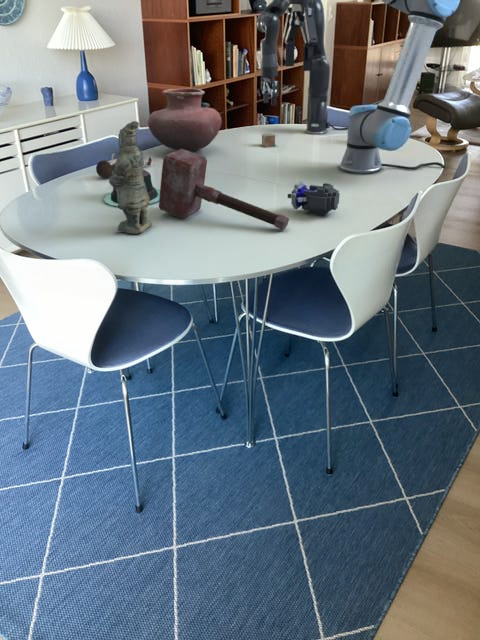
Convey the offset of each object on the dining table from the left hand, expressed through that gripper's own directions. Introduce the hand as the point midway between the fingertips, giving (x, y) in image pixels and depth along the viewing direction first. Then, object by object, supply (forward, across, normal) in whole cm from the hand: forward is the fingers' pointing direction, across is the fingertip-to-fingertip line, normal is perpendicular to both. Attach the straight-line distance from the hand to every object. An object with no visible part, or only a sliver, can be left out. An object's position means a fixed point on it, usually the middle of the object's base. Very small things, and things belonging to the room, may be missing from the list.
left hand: (270, 104), depth 251 cm
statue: (+14, +88, -84) cm, 122 cm away
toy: (+15, +98, -31) cm, 104 cm away
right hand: (-23, +75, -24) cm, 82 cm away
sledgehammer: (+15, +93, -58) cm, 110 cm away
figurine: (+13, +26, -74) cm, 80 cm away
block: (+15, +12, -6) cm, 20 cm away
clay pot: (+14, +6, -43) cm, 45 cm away
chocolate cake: (+14, +59, -78) cm, 98 cm away
